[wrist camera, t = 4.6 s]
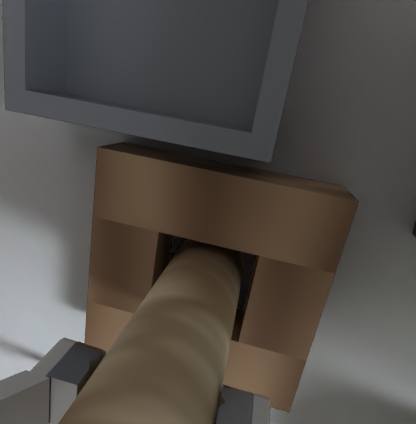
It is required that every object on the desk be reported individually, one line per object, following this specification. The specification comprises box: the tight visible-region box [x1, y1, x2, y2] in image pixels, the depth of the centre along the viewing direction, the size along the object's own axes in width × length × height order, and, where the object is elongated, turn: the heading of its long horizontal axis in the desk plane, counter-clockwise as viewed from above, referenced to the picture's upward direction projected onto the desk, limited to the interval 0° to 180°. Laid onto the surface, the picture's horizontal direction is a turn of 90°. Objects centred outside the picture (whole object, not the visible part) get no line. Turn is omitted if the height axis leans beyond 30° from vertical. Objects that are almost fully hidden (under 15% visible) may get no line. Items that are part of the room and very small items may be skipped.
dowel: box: [58, 239, 244, 424], centre depth 13 cm, size 4×4×14 cm
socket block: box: [84, 142, 359, 412], centre depth 18 cm, size 12×12×3 cm
